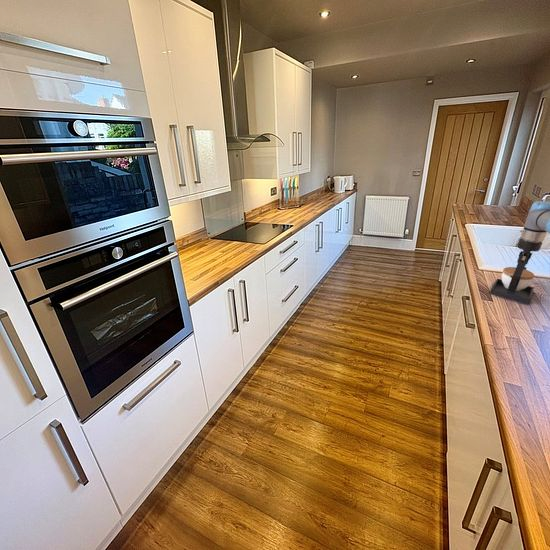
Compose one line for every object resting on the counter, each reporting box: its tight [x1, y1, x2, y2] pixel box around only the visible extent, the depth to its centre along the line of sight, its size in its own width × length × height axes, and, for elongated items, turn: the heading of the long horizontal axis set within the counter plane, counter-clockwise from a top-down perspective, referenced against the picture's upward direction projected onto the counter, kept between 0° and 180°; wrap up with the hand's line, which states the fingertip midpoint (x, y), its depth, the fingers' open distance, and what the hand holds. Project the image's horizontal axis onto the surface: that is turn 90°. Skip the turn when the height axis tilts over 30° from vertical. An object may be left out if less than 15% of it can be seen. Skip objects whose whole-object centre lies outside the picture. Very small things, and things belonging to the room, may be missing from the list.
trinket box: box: [500, 266, 535, 291], centre depth 127 cm, size 11×11×9 cm
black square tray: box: [489, 278, 535, 305], centre depth 130 cm, size 14×14×2 cm
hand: (513, 286), depth 129 cm, fingers closed on trinket box, 11 cm apart
